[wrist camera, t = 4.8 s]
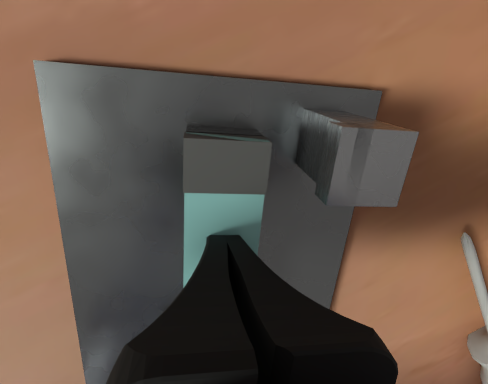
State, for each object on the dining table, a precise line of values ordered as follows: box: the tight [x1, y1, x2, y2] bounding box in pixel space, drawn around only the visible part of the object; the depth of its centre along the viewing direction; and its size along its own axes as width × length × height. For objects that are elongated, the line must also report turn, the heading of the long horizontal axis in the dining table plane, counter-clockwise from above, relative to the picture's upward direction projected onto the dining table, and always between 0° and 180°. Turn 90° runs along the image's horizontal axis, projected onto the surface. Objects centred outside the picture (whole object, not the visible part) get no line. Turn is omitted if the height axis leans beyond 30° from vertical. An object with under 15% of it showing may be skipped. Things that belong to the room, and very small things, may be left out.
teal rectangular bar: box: [183, 132, 272, 288], centre depth 13 cm, size 15×3×2 cm, turn 175°
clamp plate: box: [33, 60, 419, 384], centre depth 14 cm, size 19×14×6 cm
